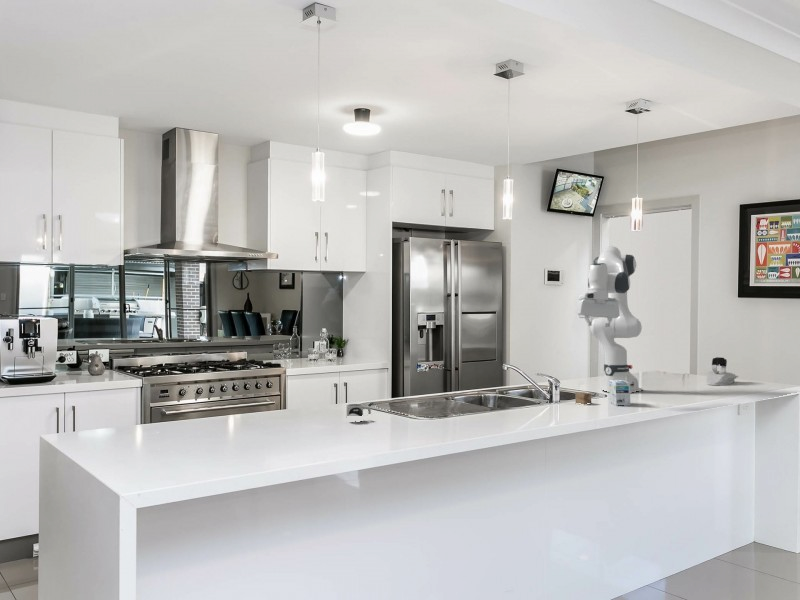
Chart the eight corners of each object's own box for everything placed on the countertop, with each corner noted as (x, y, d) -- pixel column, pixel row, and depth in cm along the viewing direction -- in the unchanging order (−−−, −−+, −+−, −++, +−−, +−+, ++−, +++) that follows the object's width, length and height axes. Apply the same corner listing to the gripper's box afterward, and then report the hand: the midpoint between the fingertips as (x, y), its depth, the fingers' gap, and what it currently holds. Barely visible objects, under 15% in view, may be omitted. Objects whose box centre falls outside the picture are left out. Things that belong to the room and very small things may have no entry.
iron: (738, 382, 397) (738, 356, 397) (723, 386, 380) (723, 359, 380) (719, 381, 405) (718, 355, 405) (703, 385, 387) (703, 358, 387)
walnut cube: (582, 402, 325) (582, 392, 325) (591, 404, 321) (591, 393, 321) (575, 403, 322) (575, 393, 322) (583, 405, 318) (583, 394, 318)
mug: (348, 423, 276) (348, 406, 276) (345, 420, 283) (345, 404, 283) (372, 421, 279) (372, 405, 279) (369, 419, 285) (368, 403, 285)
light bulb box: (630, 406, 313) (630, 382, 313) (615, 406, 314) (615, 382, 314) (623, 402, 324) (623, 379, 324) (609, 402, 324) (608, 379, 324)
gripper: (614, 299, 327) (615, 328, 325) (575, 296, 323) (575, 325, 320) (622, 297, 321) (622, 327, 319) (582, 294, 317) (582, 324, 314)
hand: (598, 326), depth 320 cm, fingers open, 8 cm apart
